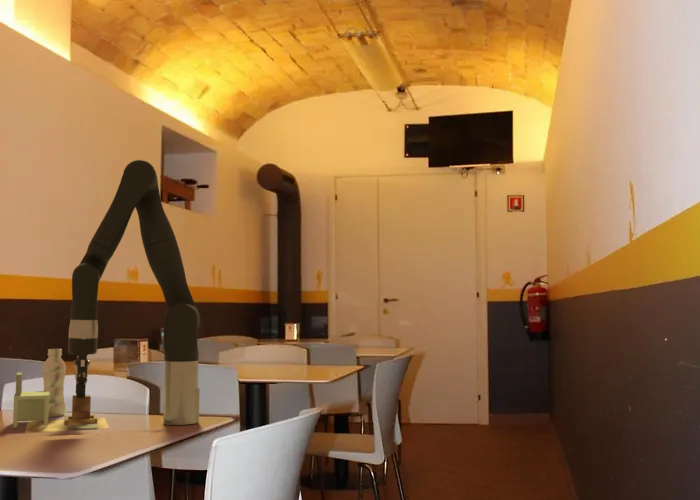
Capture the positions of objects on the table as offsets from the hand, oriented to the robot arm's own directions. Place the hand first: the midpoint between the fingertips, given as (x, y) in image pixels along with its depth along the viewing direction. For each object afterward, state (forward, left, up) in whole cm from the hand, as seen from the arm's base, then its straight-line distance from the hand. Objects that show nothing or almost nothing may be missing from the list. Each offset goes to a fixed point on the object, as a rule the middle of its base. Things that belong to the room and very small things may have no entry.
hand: (80, 396), depth 205 cm
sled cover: (+12, 0, -7) cm, 14 cm away
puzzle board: (+3, +4, -8) cm, 10 cm away
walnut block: (0, 0, -7) cm, 7 cm away
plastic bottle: (+7, -16, -8) cm, 19 cm away
